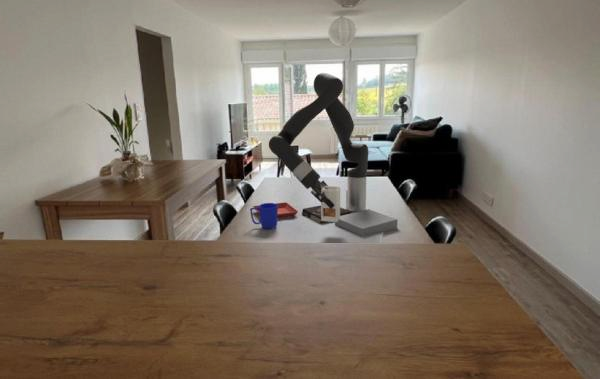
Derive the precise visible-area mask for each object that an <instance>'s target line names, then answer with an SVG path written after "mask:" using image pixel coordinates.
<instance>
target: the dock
mask: <svg viewBox="0 0 600 379" xmlns="http://www.w3.org/2000/svg"><path fill="white" fill-rule="evenodd" d="M334 225H336V226H339V227H341V228H344V229H346V230H348V231H349V232H352V233H355V234H357V235H358V236H362V237H364V236H368V235H370V234H375V233H377V232H381V231H382V233H384V232H388V231H392V230H395V229H398V218H395V217H392V216H390V215H386V214H383V213H380V212H378V211H374V210H372V209H366V210H364V211H359V212H351V214H347V215H343V216H340V218H339V220H338V221H337V222H334Z"/></svg>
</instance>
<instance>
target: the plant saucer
mask: <svg viewBox="0 0 600 379" xmlns="http://www.w3.org/2000/svg"><path fill="white" fill-rule="evenodd" d="M275 204H277V205H278V212H277V220H278V219H279V220H280V219H286V218H292V217H295V216H296V215H297V214H298V213H299V211H298V210H297V209H296V208H295V207H294V206H292V205H291V204H290V203H288V202H278V203H277V202H276V203H275ZM259 205H260V204H258V205H253V206H252V208H255V207H259ZM254 210H255V211H256V213H258V214H259V210H257V209H254Z"/></svg>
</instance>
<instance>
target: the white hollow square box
mask: <svg viewBox="0 0 600 379" xmlns="http://www.w3.org/2000/svg"><path fill="white" fill-rule="evenodd" d="M325 187H327V188H328V189H329V190H327V189H325ZM325 187H323V189H321V194H322V193H323V191H324V192H325V195H326V196H327V197H328V198H329V199H330V200H331V202H332V203H333V204H334V207H333V208H332V209H335V217H332V216H325V208H329V207H328V206H327V205H326V204H325V203H324V202H322V203H321V202H320V205H321V221H329V222H328V223H330V222H333V223H335V222H337V221H338V220H339V218H340V207H341V186H336V185H335V186H334V185H333V186H332V185H328V186H325Z"/></svg>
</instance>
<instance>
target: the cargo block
mask: <svg viewBox="0 0 600 379" xmlns="http://www.w3.org/2000/svg"><path fill="white" fill-rule="evenodd" d="M325 216H332V217H335V209H330V208H325Z"/></svg>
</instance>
